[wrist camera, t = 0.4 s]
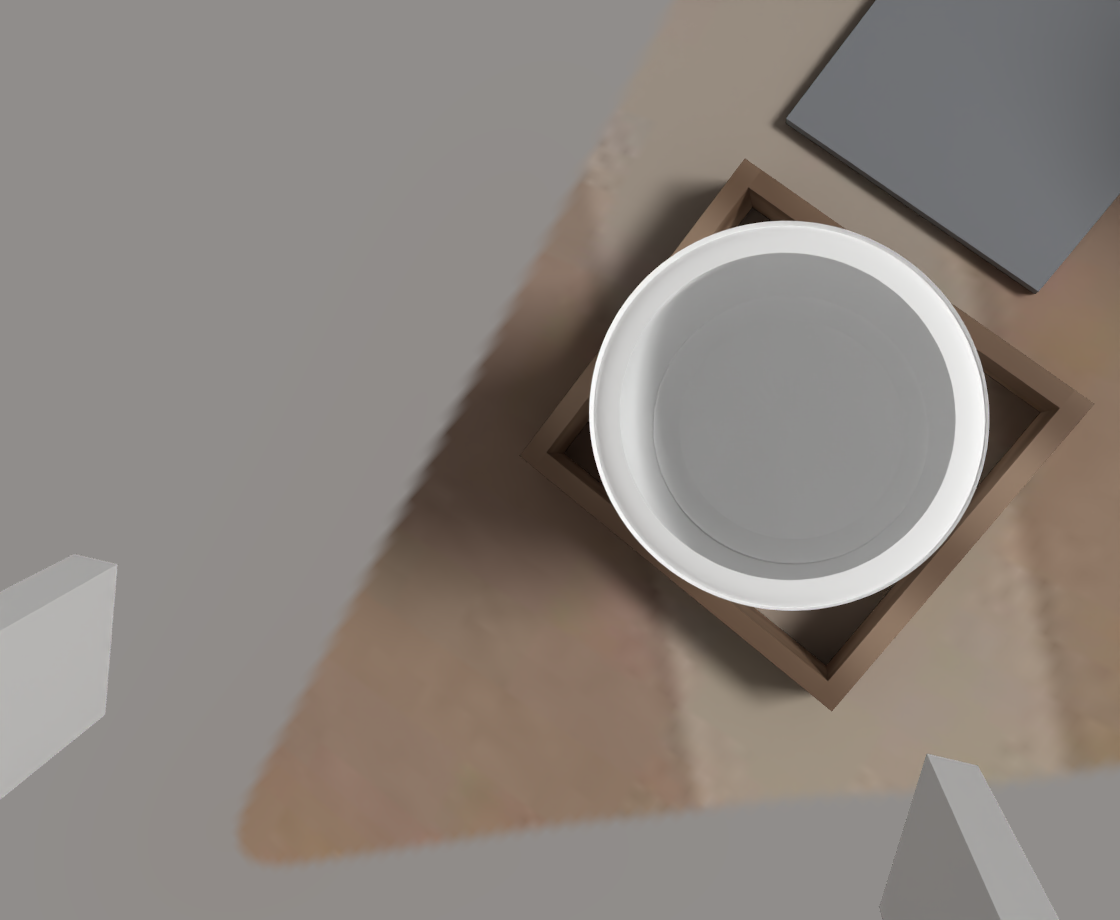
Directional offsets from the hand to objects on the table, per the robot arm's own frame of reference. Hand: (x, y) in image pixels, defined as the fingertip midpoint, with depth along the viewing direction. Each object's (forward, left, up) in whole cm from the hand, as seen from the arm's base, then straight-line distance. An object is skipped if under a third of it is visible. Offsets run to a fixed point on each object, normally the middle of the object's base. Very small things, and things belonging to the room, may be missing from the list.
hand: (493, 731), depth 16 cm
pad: (-23, -2, -27) cm, 35 cm away
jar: (-7, 0, -27) cm, 28 cm away
